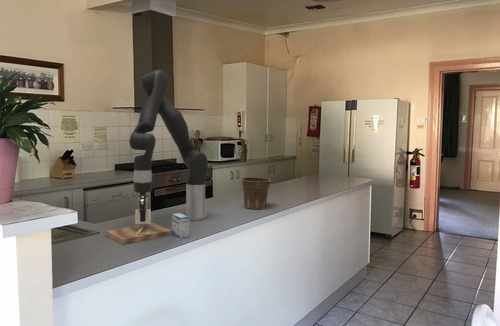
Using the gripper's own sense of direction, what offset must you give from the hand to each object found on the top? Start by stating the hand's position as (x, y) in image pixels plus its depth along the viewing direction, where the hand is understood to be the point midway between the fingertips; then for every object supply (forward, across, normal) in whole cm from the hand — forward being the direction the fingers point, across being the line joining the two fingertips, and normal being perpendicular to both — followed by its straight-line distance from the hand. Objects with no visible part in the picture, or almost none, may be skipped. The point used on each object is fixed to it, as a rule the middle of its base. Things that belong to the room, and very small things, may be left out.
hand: (143, 219), depth 178 cm
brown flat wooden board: (+6, +3, -2) cm, 7 cm away
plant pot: (+6, -45, +60) cm, 75 cm away
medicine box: (+6, +5, +16) cm, 17 cm away
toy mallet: (+4, +4, -1) cm, 5 cm away
